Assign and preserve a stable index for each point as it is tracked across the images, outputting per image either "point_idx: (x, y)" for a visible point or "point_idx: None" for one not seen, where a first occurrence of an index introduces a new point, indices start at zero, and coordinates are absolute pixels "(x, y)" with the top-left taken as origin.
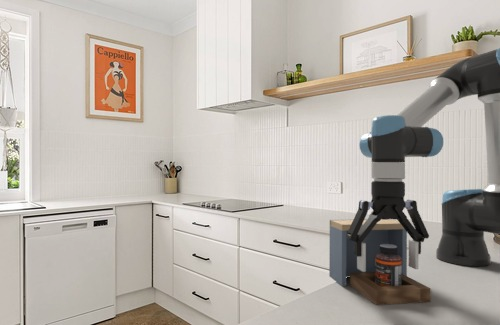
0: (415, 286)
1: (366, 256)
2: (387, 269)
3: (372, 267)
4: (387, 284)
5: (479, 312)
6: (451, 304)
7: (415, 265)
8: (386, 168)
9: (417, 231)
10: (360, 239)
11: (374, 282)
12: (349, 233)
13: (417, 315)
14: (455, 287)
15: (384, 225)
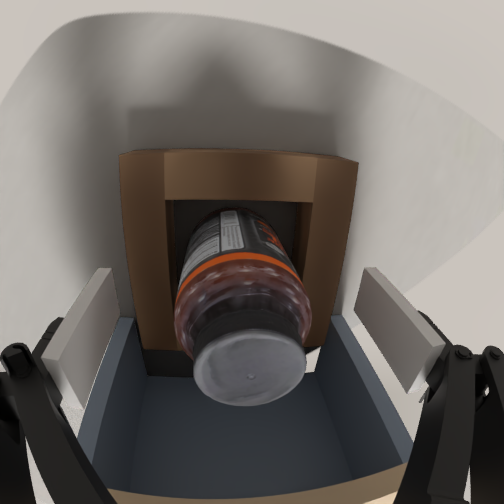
0: (166, 182)
1: (219, 425)
2: (279, 252)
3: (196, 396)
4: (266, 227)
5: (54, 66)
6: (83, 124)
7: (106, 276)
8: None
9: (20, 432)
10: (465, 358)
11: (307, 250)
12: (480, 397)
13: (260, 55)
14: (9, 259)
15: None
